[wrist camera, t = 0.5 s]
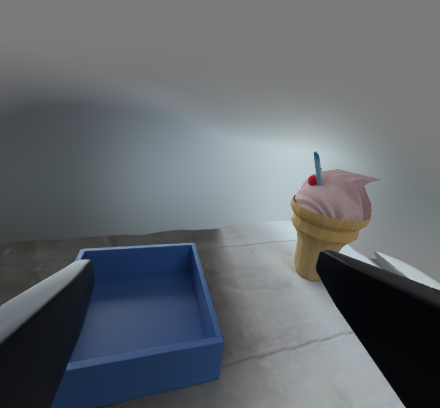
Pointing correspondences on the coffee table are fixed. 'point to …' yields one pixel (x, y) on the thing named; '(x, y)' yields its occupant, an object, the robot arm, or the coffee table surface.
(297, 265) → the ice cream cone
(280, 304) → the coffee table surface
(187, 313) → the bin
